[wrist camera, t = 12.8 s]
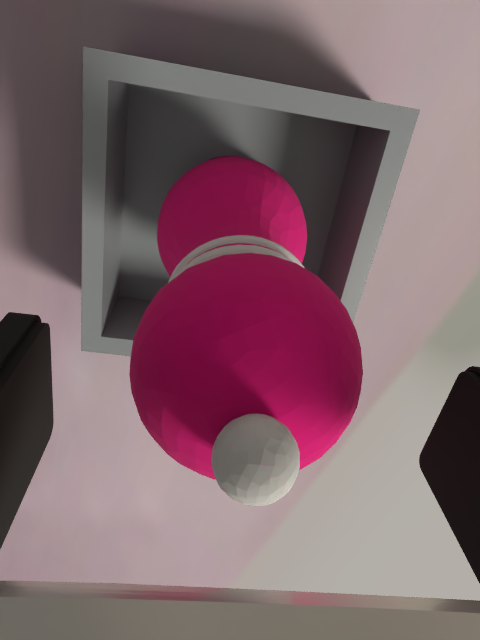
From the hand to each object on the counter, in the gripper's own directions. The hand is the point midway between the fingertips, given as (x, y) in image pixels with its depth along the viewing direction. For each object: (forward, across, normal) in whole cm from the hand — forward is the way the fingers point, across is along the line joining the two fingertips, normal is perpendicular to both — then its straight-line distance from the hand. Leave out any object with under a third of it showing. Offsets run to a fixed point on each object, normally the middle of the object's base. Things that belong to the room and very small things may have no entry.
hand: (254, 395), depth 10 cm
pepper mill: (+18, 0, +1) cm, 18 cm away
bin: (+18, 0, +1) cm, 19 cm away
